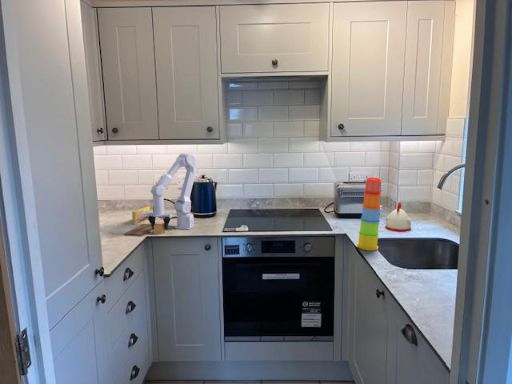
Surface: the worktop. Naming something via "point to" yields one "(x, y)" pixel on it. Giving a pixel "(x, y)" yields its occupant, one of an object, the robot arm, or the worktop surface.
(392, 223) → the cream dome
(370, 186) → the stacking cups
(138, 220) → the candy box
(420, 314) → the worktop surface
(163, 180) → the robot arm
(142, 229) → the walnut board
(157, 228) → the orange cube
